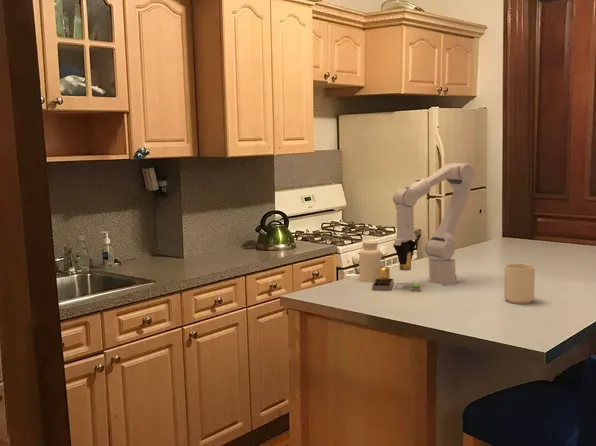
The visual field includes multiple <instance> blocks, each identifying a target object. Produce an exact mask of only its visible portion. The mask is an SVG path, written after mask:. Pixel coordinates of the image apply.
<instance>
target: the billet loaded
mask: <svg viewBox="0 0 596 446" xmlns="http://www.w3.org/2000/svg"><path fill="white" fill-rule="evenodd" d="M390 274H391V273H390V267H388V266H381V267H378V282H390V279H391V278H390V277H391V276H390Z"/></svg>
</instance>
